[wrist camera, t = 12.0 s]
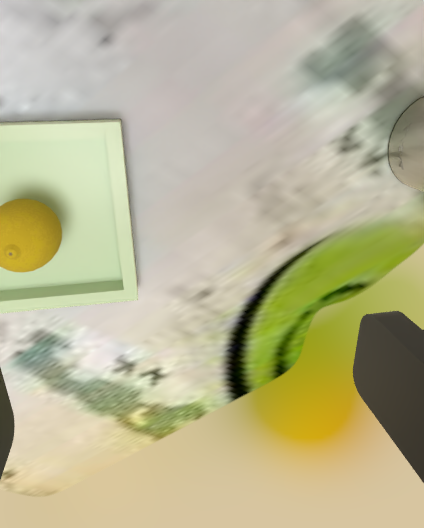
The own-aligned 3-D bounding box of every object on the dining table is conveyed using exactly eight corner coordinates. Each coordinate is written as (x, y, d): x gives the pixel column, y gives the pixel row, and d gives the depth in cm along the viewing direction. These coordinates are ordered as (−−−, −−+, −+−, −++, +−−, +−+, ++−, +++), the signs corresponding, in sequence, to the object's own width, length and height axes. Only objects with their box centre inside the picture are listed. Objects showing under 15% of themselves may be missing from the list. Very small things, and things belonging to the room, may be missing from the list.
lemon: (14, 177, 34) (-18, 203, 27) (78, 205, 36) (64, 237, 29) (-8, 233, 36) (-43, 271, 29) (55, 257, 38) (36, 299, 30)
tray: (120, 119, 35) (120, 122, 32) (137, 285, 41) (138, 299, 38) (-85, 124, 32) (-105, 128, 29) (-33, 301, 39) (-45, 317, 36)
